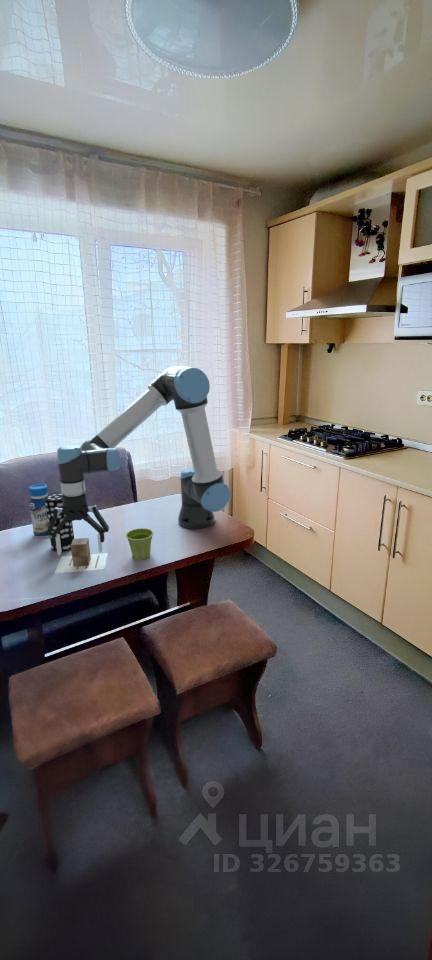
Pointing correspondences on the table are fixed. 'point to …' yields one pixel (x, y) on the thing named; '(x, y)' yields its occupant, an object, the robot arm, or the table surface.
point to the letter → (95, 564)
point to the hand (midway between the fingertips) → (80, 552)
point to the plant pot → (140, 542)
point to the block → (80, 552)
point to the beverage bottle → (38, 509)
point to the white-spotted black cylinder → (67, 529)
